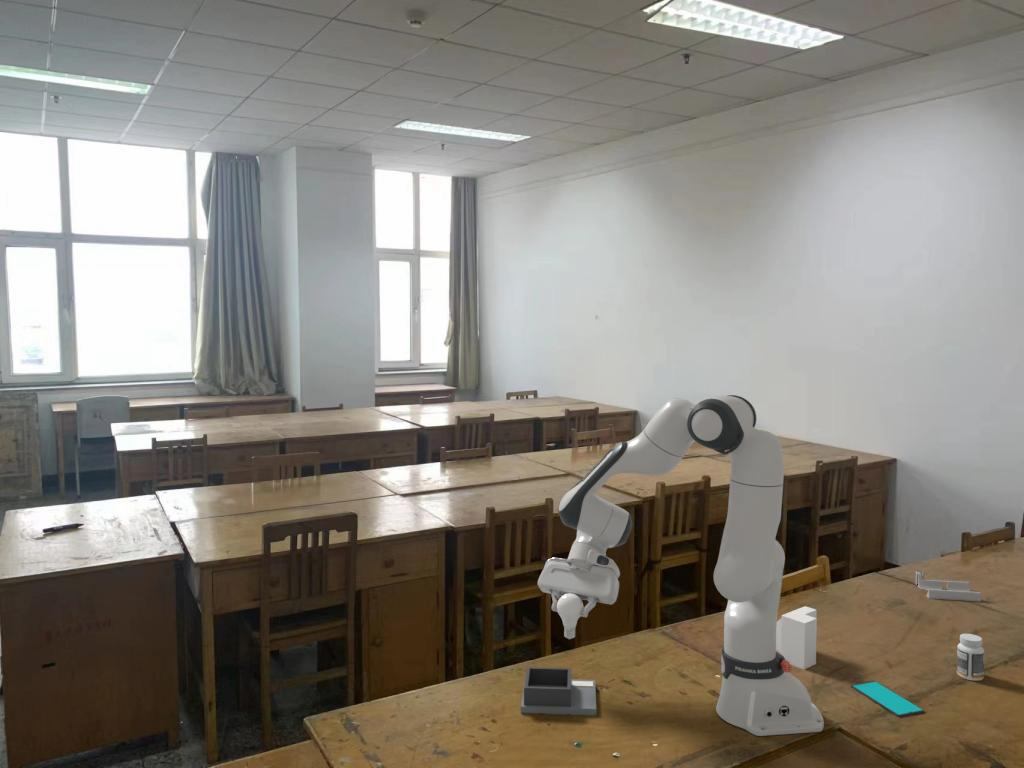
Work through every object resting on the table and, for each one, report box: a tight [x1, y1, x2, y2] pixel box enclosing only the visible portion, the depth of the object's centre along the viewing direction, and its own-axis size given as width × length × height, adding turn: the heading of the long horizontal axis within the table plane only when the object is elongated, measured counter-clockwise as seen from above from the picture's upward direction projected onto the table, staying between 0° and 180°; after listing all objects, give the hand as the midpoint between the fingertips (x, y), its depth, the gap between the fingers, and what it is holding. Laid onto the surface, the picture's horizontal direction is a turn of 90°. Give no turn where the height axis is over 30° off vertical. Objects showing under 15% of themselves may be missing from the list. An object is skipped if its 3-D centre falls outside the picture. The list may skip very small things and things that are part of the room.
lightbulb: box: [557, 593, 584, 640], centre depth 179 cm, size 6×6×11 cm
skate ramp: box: [915, 570, 982, 602], centre depth 240 cm, size 15×13×5 cm
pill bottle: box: [956, 633, 985, 682], centre depth 182 cm, size 6×6×10 cm
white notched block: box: [776, 605, 818, 670], centre depth 194 cm, size 11×11×12 cm
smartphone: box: [850, 680, 925, 718], centre depth 172 cm, size 7×1×15 cm
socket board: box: [520, 666, 597, 716], centre depth 173 cm, size 17×14×6 cm
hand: (568, 613), depth 178 cm, fingers closed on lightbulb, 6 cm apart
